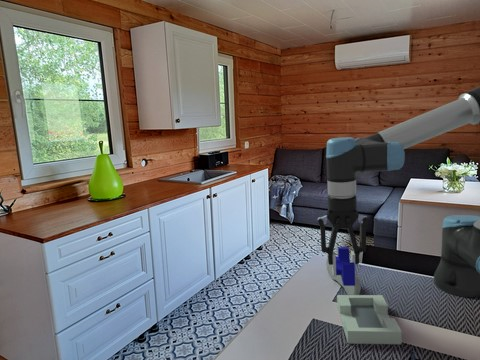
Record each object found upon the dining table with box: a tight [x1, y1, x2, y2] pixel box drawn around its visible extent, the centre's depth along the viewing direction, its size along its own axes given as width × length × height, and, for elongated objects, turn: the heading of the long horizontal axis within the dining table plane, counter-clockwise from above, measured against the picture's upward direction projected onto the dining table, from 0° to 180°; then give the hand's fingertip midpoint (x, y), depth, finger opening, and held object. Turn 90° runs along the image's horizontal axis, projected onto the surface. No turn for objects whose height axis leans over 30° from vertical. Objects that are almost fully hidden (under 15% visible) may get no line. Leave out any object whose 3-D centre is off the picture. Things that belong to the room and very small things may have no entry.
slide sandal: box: [325, 257, 362, 295], centre depth 118 cm, size 20×2×8 cm, turn 13°
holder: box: [336, 294, 403, 345], centre depth 97 cm, size 13×18×4 cm
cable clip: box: [336, 246, 356, 287], centre depth 100 cm, size 12×4×6 cm, turn 171°
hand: (343, 274), depth 101 cm, fingers closed on cable clip, 4 cm apart
